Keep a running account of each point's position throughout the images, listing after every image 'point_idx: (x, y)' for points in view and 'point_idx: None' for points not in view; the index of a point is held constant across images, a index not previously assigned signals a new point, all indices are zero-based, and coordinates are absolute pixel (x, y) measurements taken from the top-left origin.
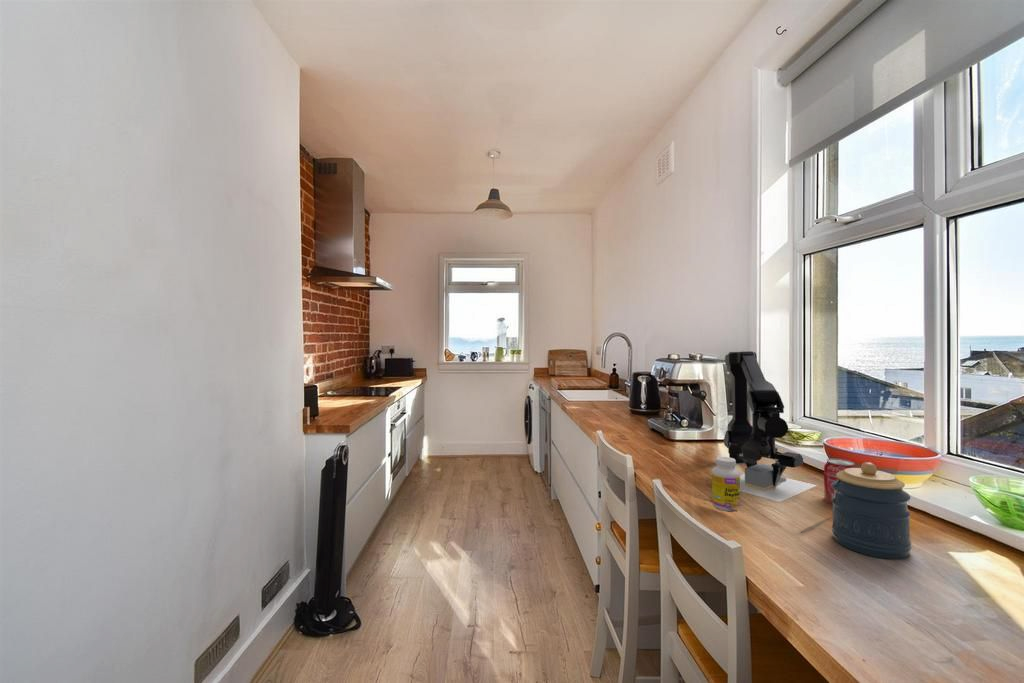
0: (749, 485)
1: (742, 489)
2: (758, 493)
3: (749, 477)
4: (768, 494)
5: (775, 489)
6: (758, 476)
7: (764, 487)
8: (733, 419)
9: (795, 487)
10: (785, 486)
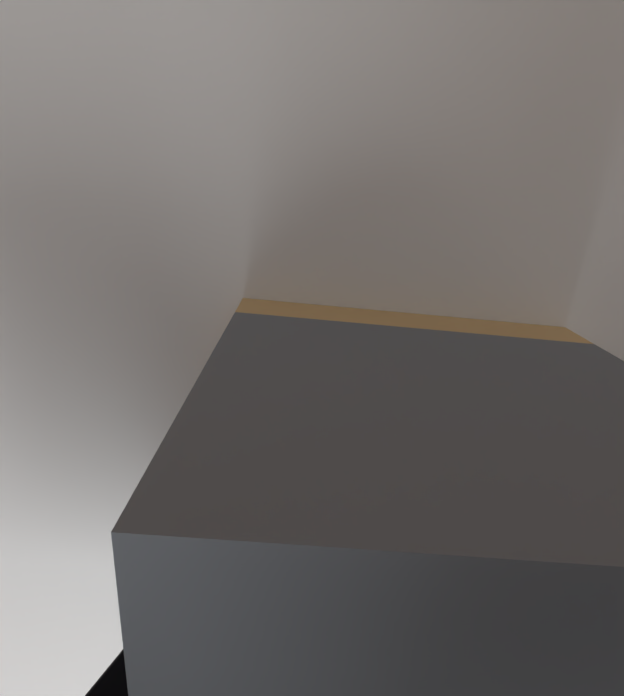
0: (497, 325)
1: (553, 62)
2: (241, 57)
3: (582, 396)
4: (103, 154)
5: None
6: (359, 421)
7: (234, 322)
8: None
9: (83, 668)
10: None
